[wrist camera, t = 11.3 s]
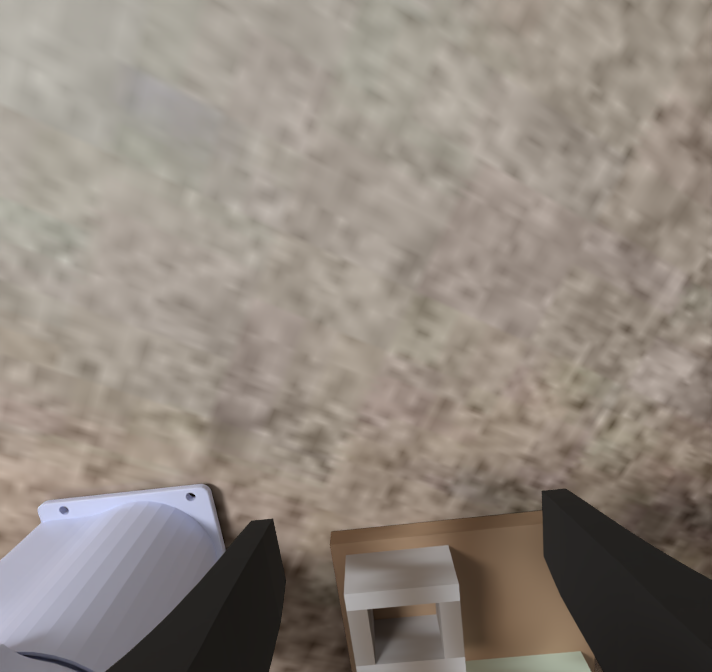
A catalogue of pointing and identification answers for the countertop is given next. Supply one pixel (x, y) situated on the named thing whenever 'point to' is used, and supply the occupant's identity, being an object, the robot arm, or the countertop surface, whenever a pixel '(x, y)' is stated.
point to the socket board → (454, 598)
